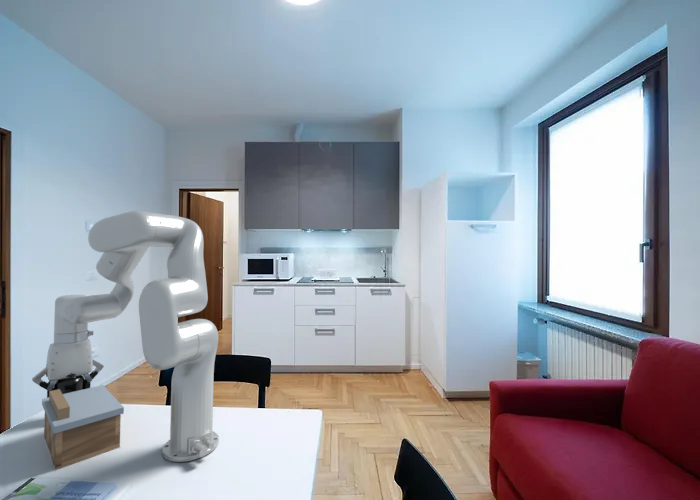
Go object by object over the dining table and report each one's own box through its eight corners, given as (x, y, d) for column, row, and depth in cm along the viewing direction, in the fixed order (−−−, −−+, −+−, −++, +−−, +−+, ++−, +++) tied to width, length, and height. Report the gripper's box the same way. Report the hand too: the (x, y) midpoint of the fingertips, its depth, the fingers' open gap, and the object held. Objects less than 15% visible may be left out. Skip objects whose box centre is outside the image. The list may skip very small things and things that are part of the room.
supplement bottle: (89, 405, 99) (90, 365, 99) (66, 416, 92) (67, 373, 92) (71, 403, 100) (72, 363, 100) (46, 413, 94) (47, 371, 94)
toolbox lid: (123, 413, 82) (124, 397, 82) (53, 433, 72) (54, 415, 73) (102, 390, 96) (103, 376, 96) (42, 404, 86) (42, 389, 87)
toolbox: (119, 447, 82) (120, 414, 82) (55, 470, 73) (56, 433, 73) (100, 420, 95) (101, 392, 95) (43, 436, 86) (44, 405, 86)
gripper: (104, 330, 106) (102, 387, 105) (28, 340, 93) (26, 404, 92) (110, 334, 101) (108, 393, 100) (31, 345, 88) (28, 413, 87)
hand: (69, 398), depth 96 cm, fingers closed on supplement bottle, 6 cm apart
